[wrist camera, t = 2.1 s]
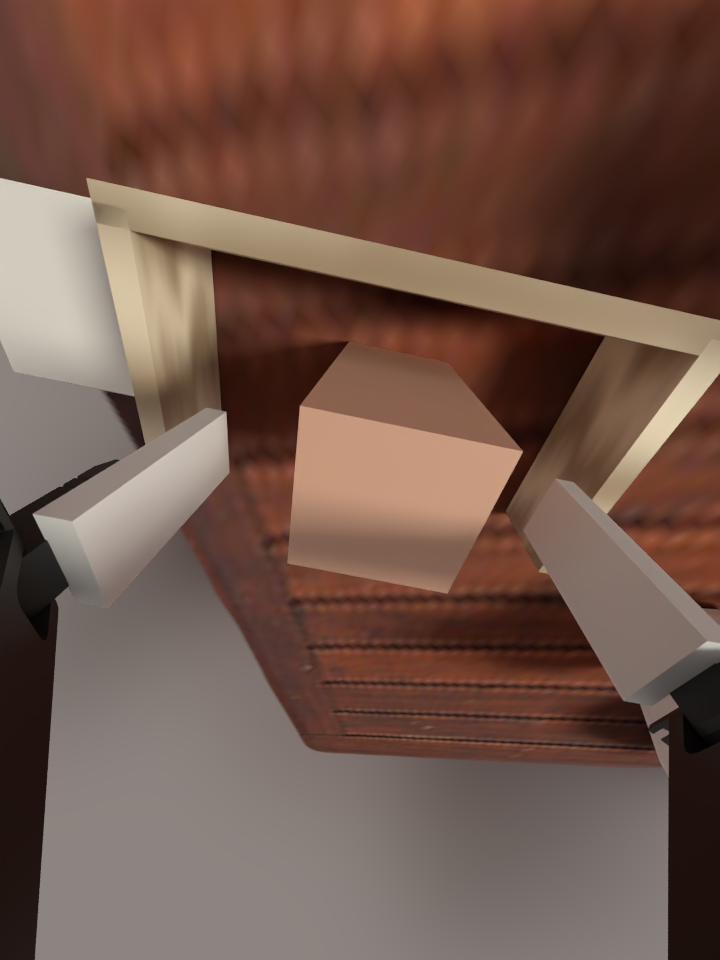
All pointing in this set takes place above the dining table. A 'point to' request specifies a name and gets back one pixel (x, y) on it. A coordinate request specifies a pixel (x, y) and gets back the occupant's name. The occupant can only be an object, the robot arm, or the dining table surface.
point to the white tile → (57, 291)
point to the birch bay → (201, 228)
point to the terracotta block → (394, 469)
